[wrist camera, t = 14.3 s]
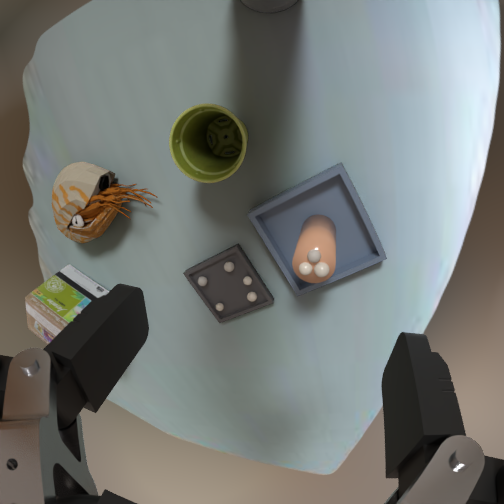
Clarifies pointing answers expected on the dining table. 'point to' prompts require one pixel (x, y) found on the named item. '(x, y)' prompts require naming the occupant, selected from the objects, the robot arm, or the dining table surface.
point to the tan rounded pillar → (315, 250)
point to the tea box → (60, 302)
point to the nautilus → (87, 201)
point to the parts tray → (229, 284)
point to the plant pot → (208, 143)
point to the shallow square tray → (319, 203)
